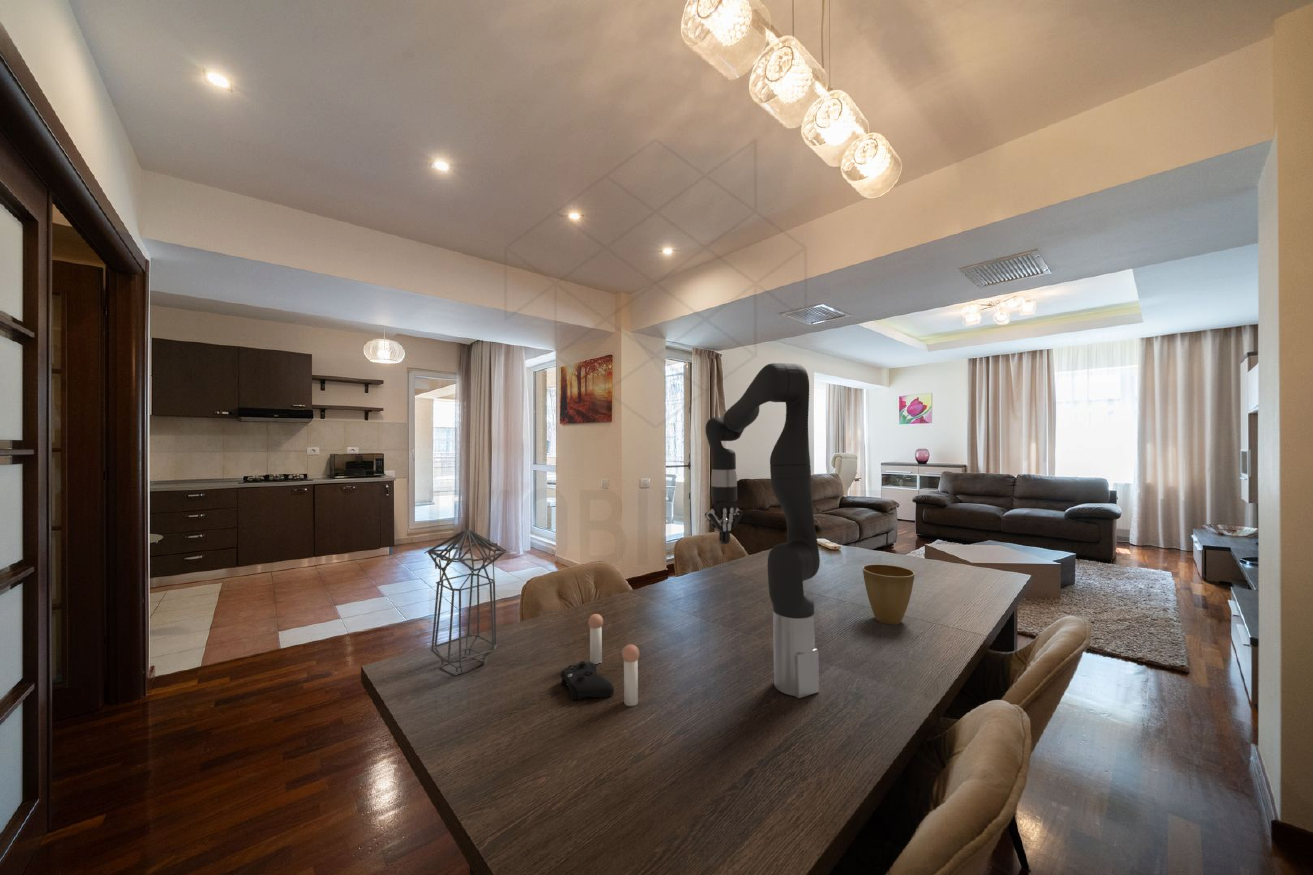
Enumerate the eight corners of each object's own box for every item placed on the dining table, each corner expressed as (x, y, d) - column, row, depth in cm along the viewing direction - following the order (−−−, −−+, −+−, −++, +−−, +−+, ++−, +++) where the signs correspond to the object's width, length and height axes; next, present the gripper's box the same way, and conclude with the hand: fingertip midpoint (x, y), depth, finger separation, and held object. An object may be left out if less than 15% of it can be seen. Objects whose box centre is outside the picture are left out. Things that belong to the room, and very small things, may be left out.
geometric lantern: (475, 648, 133) (478, 523, 134) (507, 665, 123) (510, 530, 124) (418, 667, 121) (421, 530, 122) (448, 688, 111) (452, 538, 112)
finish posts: (642, 704, 103) (642, 646, 103) (626, 708, 101) (626, 650, 102) (600, 657, 126) (599, 610, 126) (586, 661, 124) (586, 613, 124)
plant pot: (866, 626, 146) (865, 574, 146) (860, 610, 160) (859, 562, 160) (921, 631, 141) (919, 577, 142) (910, 614, 156) (908, 565, 156)
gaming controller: (618, 676, 107) (576, 678, 102) (614, 704, 106) (571, 707, 102) (596, 653, 119) (558, 653, 115) (592, 677, 119) (553, 679, 114)
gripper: (712, 486, 134) (713, 548, 134) (749, 484, 141) (750, 543, 140) (698, 484, 141) (698, 543, 141) (734, 482, 147) (735, 539, 147)
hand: (724, 543), depth 141 cm, fingers closed
